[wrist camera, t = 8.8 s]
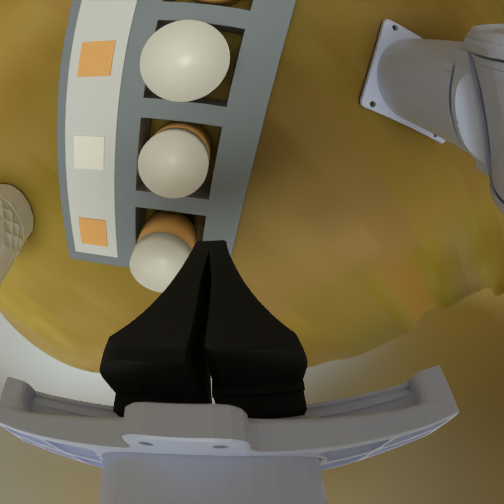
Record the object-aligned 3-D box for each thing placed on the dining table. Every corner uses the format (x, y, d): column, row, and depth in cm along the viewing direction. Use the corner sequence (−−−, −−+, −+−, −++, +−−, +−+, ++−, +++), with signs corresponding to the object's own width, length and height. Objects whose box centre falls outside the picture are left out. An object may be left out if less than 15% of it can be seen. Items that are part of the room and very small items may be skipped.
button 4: (200, 215, 21) (196, 247, 18) (194, 261, 23) (190, 296, 20) (142, 207, 20) (128, 238, 17) (142, 254, 22) (131, 288, 19)
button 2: (236, 34, 13) (238, 25, 10) (221, 98, 16) (219, 107, 13) (165, 27, 12) (148, 17, 9) (152, 91, 15) (134, 98, 12)
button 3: (216, 123, 19) (213, 136, 15) (206, 178, 21) (202, 202, 18) (155, 116, 18) (140, 128, 15) (150, 171, 20) (136, 194, 17)
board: (299, -37, 11) (311, -51, 9) (225, 258, 26) (225, 281, 24) (108, -49, 8) (92, -61, 6) (82, 238, 24) (69, 259, 21)
